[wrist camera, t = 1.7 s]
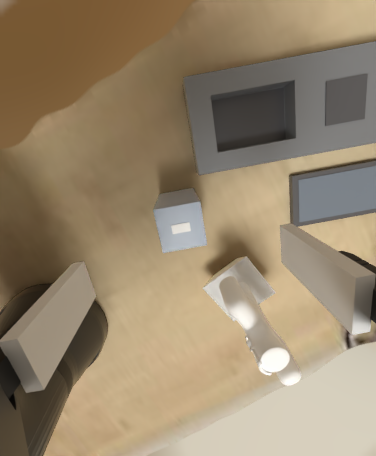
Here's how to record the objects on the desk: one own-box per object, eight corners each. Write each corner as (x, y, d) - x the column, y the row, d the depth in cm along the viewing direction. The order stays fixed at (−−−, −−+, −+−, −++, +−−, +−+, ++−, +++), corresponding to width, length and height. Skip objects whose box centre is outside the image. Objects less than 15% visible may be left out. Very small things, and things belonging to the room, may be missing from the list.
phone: (290, 225, 32) (293, 227, 31) (289, 175, 30) (292, 176, 29) (388, 207, 32) (394, 209, 31) (393, 156, 30) (400, 156, 29)
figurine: (234, 239, 32) (281, 307, 18) (269, 283, 35) (334, 372, 21) (195, 269, 34) (209, 354, 19) (231, 309, 36) (268, 411, 22)
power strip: (196, 173, 29) (199, 175, 26) (182, 85, 26) (183, 75, 23) (426, 130, 29) (460, 127, 26) (440, 37, 26) (480, 19, 23)
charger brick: (166, 225, 31) (163, 253, 23) (159, 193, 30) (153, 210, 21) (198, 220, 31) (207, 245, 23) (193, 187, 30) (200, 201, 21)
